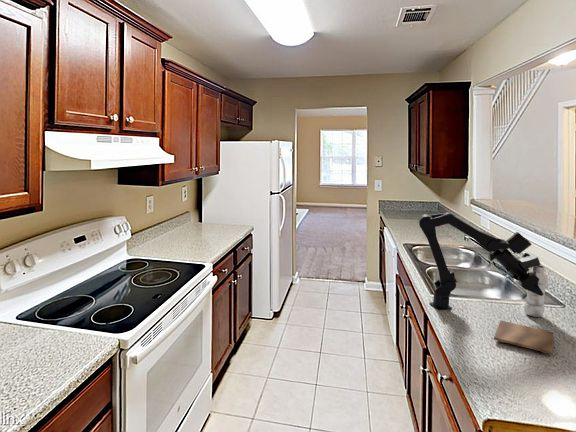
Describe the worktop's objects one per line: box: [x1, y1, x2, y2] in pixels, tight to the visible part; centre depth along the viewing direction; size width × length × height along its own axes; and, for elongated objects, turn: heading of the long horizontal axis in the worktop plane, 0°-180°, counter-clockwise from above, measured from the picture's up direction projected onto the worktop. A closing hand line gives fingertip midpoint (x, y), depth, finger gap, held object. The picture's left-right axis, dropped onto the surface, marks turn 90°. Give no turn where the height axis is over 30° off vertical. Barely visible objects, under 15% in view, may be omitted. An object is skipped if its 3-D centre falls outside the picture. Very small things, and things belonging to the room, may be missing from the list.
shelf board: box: [493, 320, 554, 355], centre depth 128 cm, size 16×16×2 cm
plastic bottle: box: [523, 265, 549, 318], centre depth 146 cm, size 6×7×20 cm
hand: (537, 290), depth 146 cm, fingers open, 9 cm apart
